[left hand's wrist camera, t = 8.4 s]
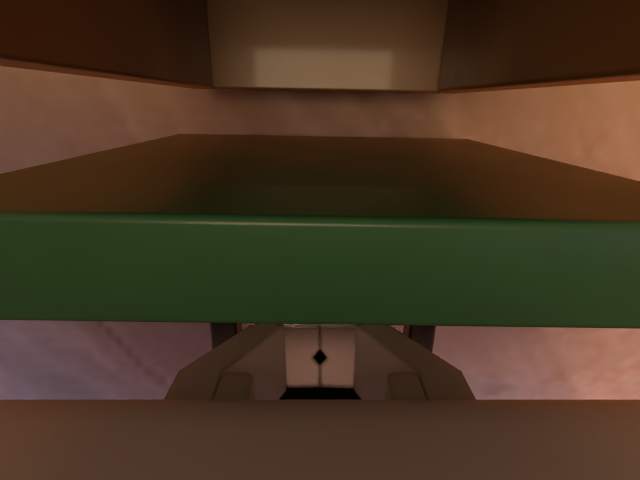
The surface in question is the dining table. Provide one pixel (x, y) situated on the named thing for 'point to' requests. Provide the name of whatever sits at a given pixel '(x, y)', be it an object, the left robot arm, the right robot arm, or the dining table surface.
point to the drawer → (323, 174)
